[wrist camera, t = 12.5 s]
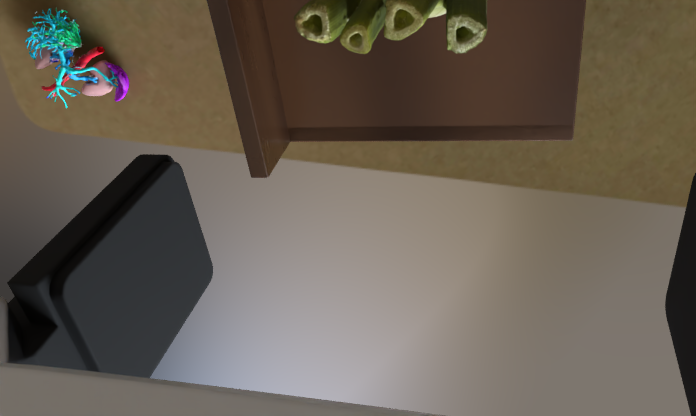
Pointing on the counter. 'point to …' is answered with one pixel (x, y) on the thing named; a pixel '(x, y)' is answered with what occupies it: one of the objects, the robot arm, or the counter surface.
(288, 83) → the shelf
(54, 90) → the anatomy model
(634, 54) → the counter surface
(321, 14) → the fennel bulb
